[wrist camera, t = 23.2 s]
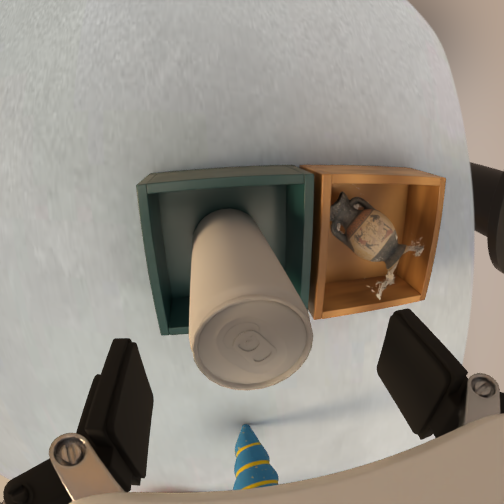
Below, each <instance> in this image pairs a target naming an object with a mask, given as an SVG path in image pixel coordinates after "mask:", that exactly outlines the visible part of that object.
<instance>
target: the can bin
mask: <svg viewBox="0 0 504 504" xmlns="http://www.w3.org/2000/svg"><path fill="white" fill-rule="evenodd" d="M136 188H137V197H138V206H139V214H140V221H141V229H142V236H143V242H144V249H145V255H146V261H147V267H148V273H149V279H150V284H151V289H152V295H153V300H154V305H155V309H156V314H157V319H158V324H159V328H160V333H161V335H169V334H170V335H178V334H189V307H190V281H191V261H192V243H193V236H194V232H195V230H196V228H197V226H198V224H199V223H200V222H201V220H202V219H203V218H204V217H205V216H207V215H209V214H210V213H212V212H214V211H217V210H220V209H236V210H240V211H242V212H244V213H246V214H248V215H249V216H250V217H251V218H253V219H254V220H255V222H256V224H257V225H258V227H259V229H260V231H261V232H262V234H263V236H264V237H265V239H266V241H267V242H268V244H269V246H270V247H271V249H272V251H273V252H274V254H275V256H276V257H277V259H278V261H279V262H280V264H281V266H282V267H283V269H284V271H285V272H286V274H287V276H288V278H289V279H290V281H291V283H292V284H293V286H294V288H295V290H296V291H297V293H298V295H299V297H300V298H301V300H302V302H303V304H304V305H305V307H306V309H307V311H308V301H309V287H310V271H311V254H312V233H313V206H314V174H313V173H310V172H308V171H305V170H303V169H301V168H298V167H296V166H293V165H268V166H242V167H224V168H208V169H195V170H183V171H172V172H161V173H152V174H149V175H148V176H147V177H146V178H144V179H143V180H142V181H141V182H140V183H138V184H137V185H136Z"/></svg>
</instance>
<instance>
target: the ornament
mask: <svg viewBox="0 0 504 504" xmlns="http://www.w3.org/2000/svg"><path fill="white" fill-rule="evenodd" d="M235 455H236V458H237V459H236V462H235V468H234V472H235V477H236V481H235V484H234V487H233V490H241V489H251V488H259V487H267V486H274V485H279V484H278V474H277V473H276V471H275V470H274V468H273V467H272V466H271V465H270V464H269V456H268V454H267V452H266V450H265V449H264V447H263V446H262V444H261V443H260V442H259V440H258V438H257V437H256V435H255V434H254V432H253V431H252V429H251V428H250V426H249V425H247V424H244V425H243V426H242V429H241V432H240V434H239V437H238V440H237V443H236V446H235Z"/></svg>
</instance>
